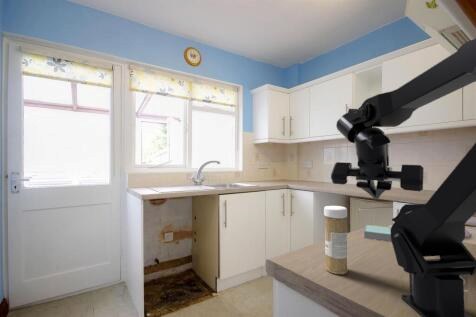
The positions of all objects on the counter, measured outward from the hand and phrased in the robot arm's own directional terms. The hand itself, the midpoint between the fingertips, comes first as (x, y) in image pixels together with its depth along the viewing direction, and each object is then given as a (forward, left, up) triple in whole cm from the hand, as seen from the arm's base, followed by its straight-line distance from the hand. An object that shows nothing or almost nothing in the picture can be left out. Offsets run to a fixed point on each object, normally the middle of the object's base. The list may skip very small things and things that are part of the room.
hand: (376, 197), depth 60 cm
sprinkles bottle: (-11, +15, -14) cm, 23 cm away
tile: (+8, -5, -13) cm, 16 cm away
